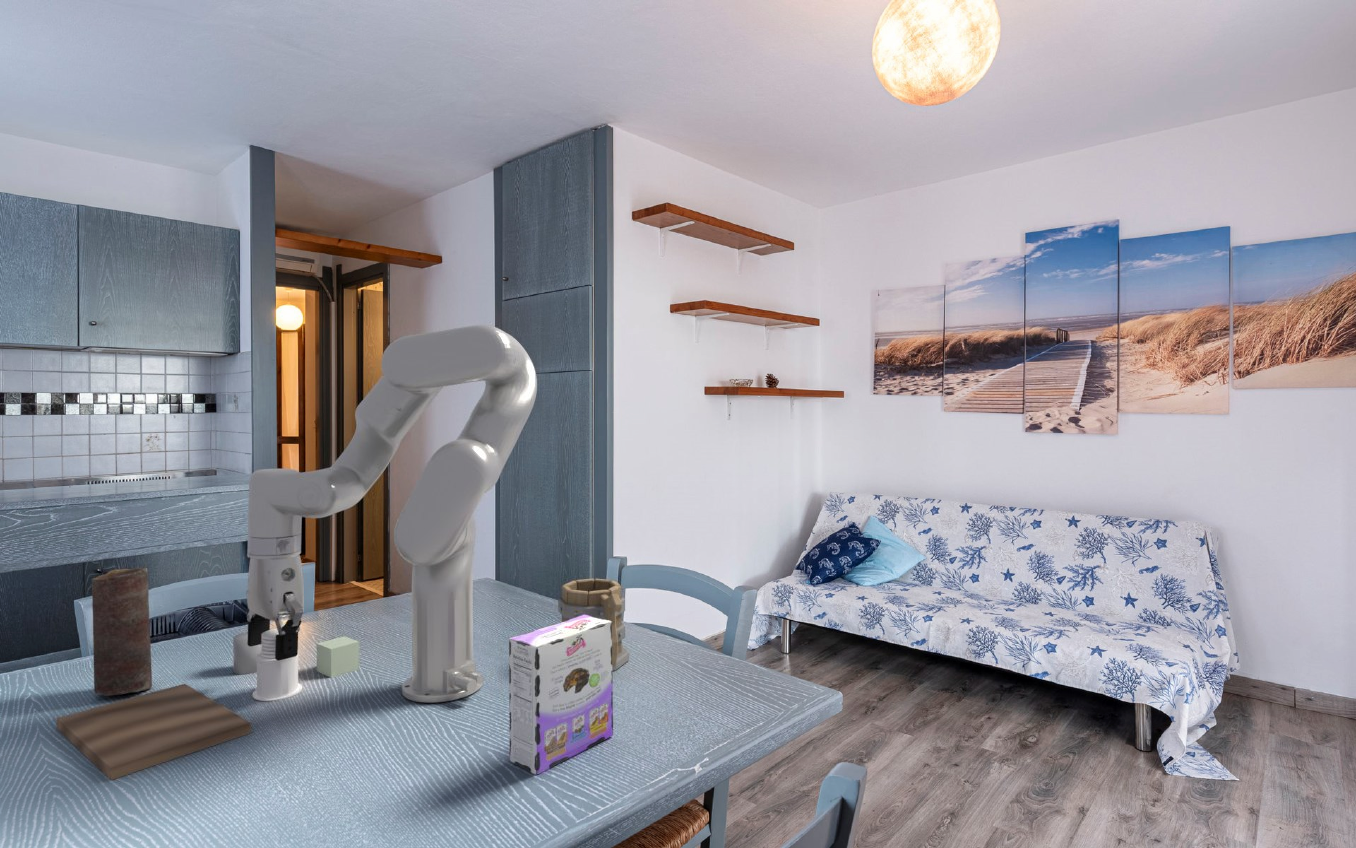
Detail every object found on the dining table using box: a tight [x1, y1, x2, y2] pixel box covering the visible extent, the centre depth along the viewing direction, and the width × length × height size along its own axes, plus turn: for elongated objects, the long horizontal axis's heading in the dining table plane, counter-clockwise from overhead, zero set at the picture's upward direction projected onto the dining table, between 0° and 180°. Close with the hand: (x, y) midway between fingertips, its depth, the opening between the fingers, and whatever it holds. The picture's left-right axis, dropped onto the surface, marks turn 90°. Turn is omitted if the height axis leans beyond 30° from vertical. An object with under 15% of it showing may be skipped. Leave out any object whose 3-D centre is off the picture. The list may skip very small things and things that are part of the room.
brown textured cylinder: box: [91, 567, 153, 697], centre depth 115 cm, size 8×7×20 cm
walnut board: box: [56, 683, 252, 781], centre depth 101 cm, size 24×16×2 cm, turn 53°
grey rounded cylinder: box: [232, 631, 262, 676], centre depth 125 cm, size 5×5×6 cm
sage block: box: [316, 635, 360, 679], centre depth 125 cm, size 5×5×5 cm
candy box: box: [508, 615, 614, 776], centre depth 96 cm, size 14×6×16 cm, turn 141°
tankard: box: [557, 577, 630, 672], centre depth 126 cm, size 20×13×15 cm, turn 23°
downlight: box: [252, 628, 303, 702], centre depth 115 cm, size 8×7×10 cm
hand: (272, 651), depth 115 cm, fingers open, 9 cm apart
